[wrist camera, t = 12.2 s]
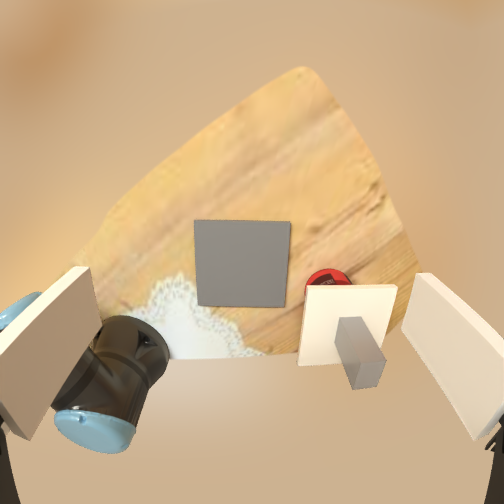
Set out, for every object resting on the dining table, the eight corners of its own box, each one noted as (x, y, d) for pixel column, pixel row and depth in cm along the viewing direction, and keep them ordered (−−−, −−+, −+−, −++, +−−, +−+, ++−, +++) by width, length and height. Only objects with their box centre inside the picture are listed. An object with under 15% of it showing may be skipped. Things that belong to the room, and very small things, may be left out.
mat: (198, 302, 48) (197, 305, 47) (194, 219, 43) (193, 221, 42) (283, 304, 48) (284, 307, 47) (289, 221, 43) (290, 222, 43)
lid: (296, 361, 39) (307, 415, 30) (306, 285, 35) (325, 334, 25) (374, 356, 39) (398, 403, 30) (394, 284, 35) (431, 325, 26)
